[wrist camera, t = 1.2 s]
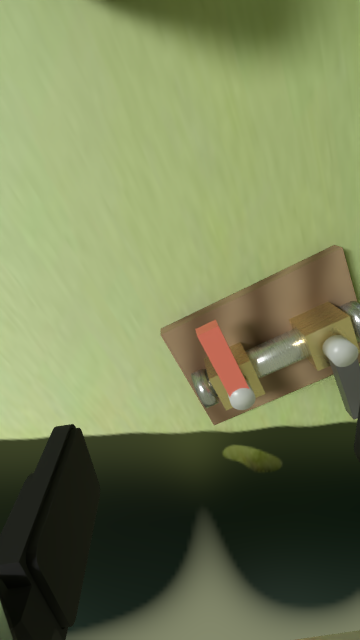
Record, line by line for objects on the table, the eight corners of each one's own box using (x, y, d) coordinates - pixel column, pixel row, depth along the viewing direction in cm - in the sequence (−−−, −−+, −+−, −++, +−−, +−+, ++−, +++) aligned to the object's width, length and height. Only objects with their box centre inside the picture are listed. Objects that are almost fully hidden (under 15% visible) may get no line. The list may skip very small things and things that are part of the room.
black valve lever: (319, 341, 29) (329, 350, 27) (343, 330, 29) (355, 339, 27) (343, 409, 32) (353, 421, 31) (365, 400, 32) (376, 412, 30)
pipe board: (334, 245, 31) (342, 247, 30) (364, 351, 37) (372, 357, 35) (160, 328, 34) (160, 334, 32) (212, 416, 39) (214, 425, 38)
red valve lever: (253, 392, 31) (259, 403, 29) (231, 401, 31) (236, 413, 29) (217, 317, 27) (221, 326, 26) (193, 329, 28) (195, 338, 26)
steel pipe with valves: (344, 293, 32) (368, 307, 28) (354, 327, 34) (378, 345, 30) (188, 365, 34) (192, 386, 30) (205, 393, 36) (210, 417, 32)
